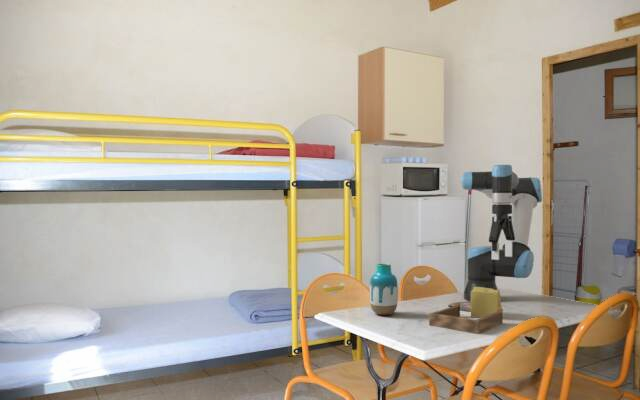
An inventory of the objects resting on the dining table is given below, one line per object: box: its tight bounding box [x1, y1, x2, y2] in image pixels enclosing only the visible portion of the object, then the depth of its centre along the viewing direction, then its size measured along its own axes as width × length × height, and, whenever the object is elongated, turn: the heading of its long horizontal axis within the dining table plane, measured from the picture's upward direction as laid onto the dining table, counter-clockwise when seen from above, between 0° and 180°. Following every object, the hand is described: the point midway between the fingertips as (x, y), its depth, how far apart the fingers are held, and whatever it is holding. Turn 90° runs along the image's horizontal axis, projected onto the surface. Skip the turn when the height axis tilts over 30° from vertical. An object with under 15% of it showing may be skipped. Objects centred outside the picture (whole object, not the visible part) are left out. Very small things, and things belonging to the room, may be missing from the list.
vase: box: [369, 263, 399, 316], centre depth 204 cm, size 11×11×19 cm
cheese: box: [470, 287, 503, 319], centre depth 202 cm, size 10×11×10 cm
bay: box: [428, 301, 504, 335], centre depth 188 cm, size 18×20×5 cm
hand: (502, 258), depth 210 cm, fingers open, 13 cm apart
